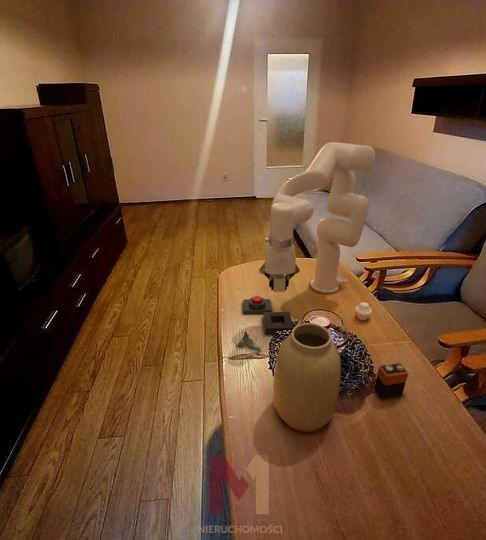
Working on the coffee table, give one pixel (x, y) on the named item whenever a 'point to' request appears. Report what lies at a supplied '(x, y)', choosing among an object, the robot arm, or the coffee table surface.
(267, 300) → the switch block
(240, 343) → the dragon figurine
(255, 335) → the coffee table surface
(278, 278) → the charger
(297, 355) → the vase
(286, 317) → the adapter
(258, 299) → the power button
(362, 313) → the cream rounded piece
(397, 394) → the battery
